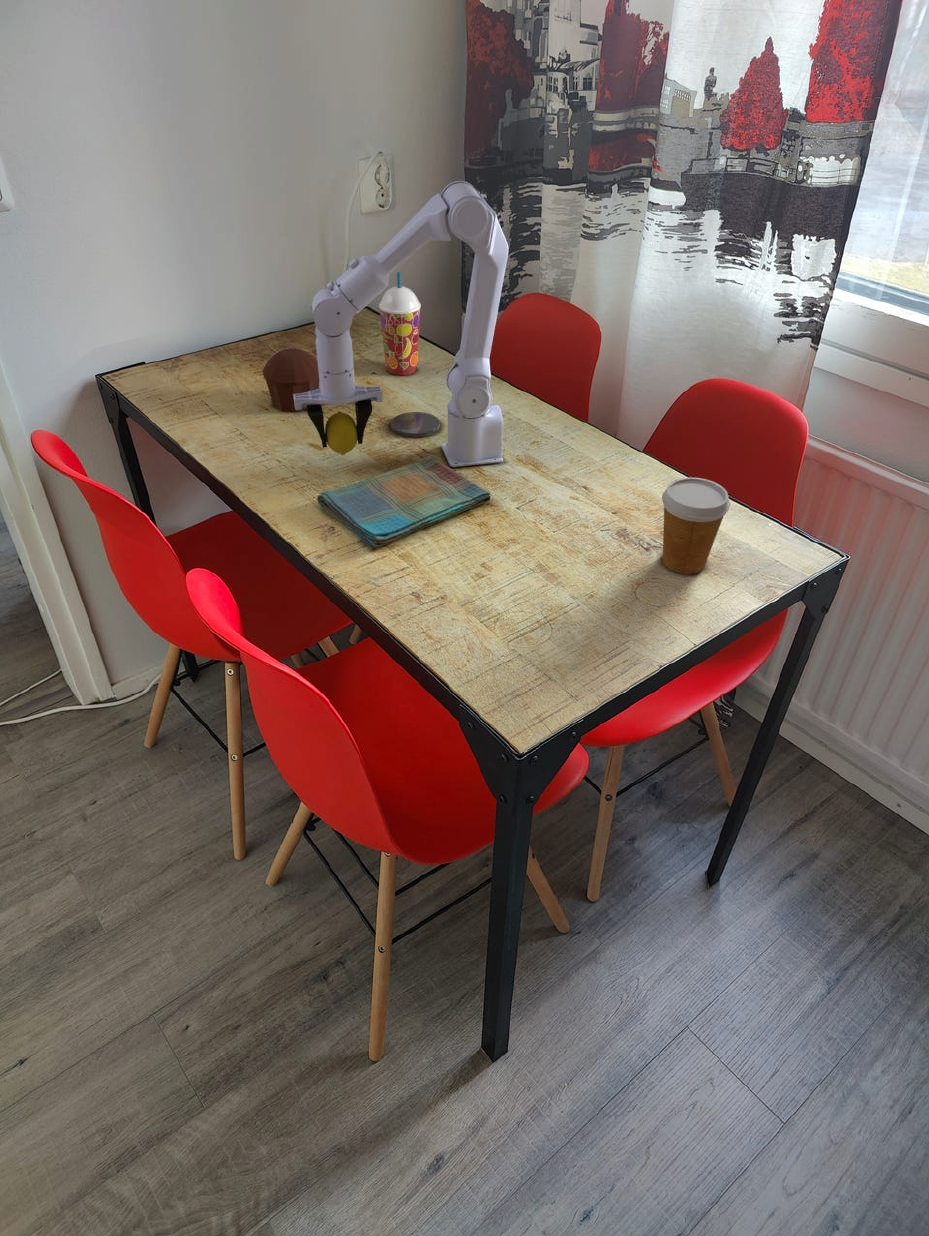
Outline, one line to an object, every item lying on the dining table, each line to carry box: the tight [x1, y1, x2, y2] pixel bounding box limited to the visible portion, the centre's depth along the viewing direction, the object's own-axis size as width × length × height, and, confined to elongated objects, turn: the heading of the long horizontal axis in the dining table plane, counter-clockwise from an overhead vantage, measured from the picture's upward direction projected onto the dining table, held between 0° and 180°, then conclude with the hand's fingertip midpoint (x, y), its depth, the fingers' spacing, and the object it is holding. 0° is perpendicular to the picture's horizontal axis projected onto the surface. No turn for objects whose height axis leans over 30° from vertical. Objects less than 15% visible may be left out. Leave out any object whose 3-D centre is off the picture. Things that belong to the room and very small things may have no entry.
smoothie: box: [378, 271, 421, 376], centre depth 182 cm, size 8×8×20 cm
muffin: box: [262, 347, 320, 413], centre depth 173 cm, size 12×11×10 cm
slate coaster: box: [390, 411, 441, 438], centre depth 168 cm, size 9×9×1 cm
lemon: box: [324, 411, 358, 456], centre depth 153 cm, size 6×6×8 cm
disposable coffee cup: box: [661, 477, 731, 575], centre depth 131 cm, size 10×10×12 cm
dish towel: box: [316, 456, 491, 550], centre depth 146 cm, size 17×23×2 cm
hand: (342, 443), depth 154 cm, fingers closed on lemon, 5 cm apart
